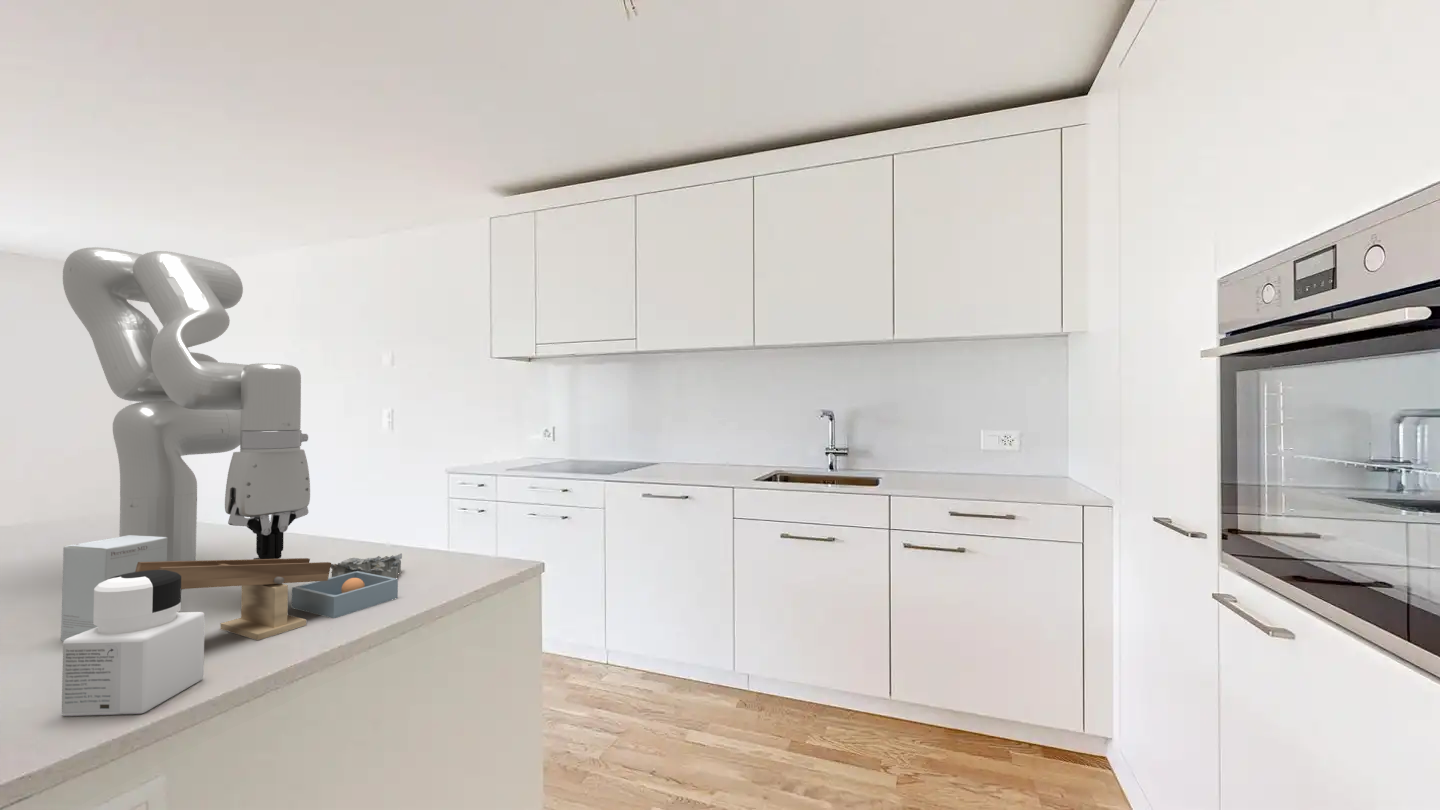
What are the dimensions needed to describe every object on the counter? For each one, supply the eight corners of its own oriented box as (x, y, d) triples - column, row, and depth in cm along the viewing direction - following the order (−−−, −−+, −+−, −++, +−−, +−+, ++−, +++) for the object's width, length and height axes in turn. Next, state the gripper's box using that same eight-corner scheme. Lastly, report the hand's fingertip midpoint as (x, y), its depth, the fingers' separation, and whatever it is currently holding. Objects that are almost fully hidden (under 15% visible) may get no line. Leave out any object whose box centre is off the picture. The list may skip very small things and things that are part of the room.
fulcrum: (220, 629, 80) (221, 584, 80) (269, 615, 85) (269, 573, 85) (257, 640, 76) (258, 593, 76) (306, 625, 82) (306, 581, 82)
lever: (94, 573, 75) (100, 552, 75) (271, 567, 93) (275, 550, 94) (160, 591, 68) (166, 568, 68) (337, 581, 86) (341, 563, 87)
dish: (291, 610, 89) (292, 587, 89) (356, 591, 98) (357, 571, 98) (333, 620, 85) (333, 597, 85) (397, 600, 94) (397, 578, 94)
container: (131, 681, 65) (134, 565, 65) (205, 679, 65) (207, 564, 65) (58, 717, 57) (61, 586, 57) (143, 715, 58) (145, 585, 58)
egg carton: (325, 588, 99) (326, 564, 99) (340, 576, 106) (340, 554, 106) (395, 583, 102) (395, 560, 102) (405, 571, 110) (405, 550, 110)
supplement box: (102, 647, 74) (104, 548, 74) (58, 642, 75) (60, 545, 75) (167, 626, 81) (169, 536, 81) (127, 622, 82) (128, 533, 82)
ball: (363, 586, 96) (351, 603, 93) (346, 576, 94) (333, 594, 92) (372, 582, 94) (360, 600, 92) (354, 572, 93) (342, 590, 90)
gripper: (306, 439, 99) (305, 546, 99) (200, 443, 86) (198, 567, 86) (334, 440, 96) (333, 550, 96) (228, 445, 83) (226, 573, 83)
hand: (269, 557), depth 91 cm, fingers closed
